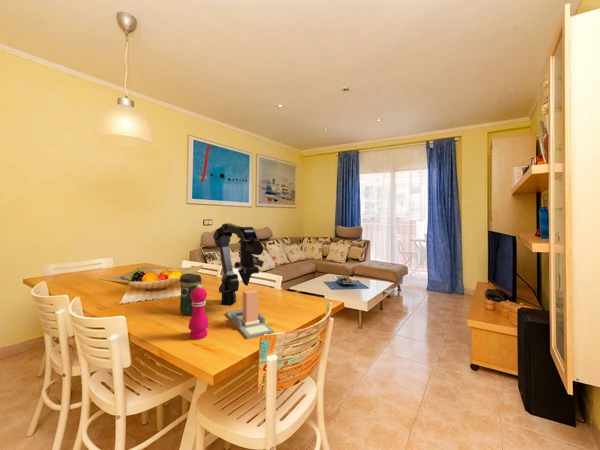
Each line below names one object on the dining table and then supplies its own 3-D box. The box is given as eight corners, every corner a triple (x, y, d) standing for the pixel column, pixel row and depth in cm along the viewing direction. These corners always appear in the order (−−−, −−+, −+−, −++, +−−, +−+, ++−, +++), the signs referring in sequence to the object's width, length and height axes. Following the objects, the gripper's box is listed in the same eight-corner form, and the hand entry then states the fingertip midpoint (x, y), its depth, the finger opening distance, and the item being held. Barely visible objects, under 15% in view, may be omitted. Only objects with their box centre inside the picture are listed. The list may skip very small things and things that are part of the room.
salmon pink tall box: (241, 320, 116) (241, 290, 116) (254, 318, 119) (254, 289, 119) (245, 325, 111) (245, 294, 111) (259, 323, 114) (259, 292, 114)
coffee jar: (204, 312, 130) (204, 273, 130) (190, 317, 124) (190, 276, 123) (191, 308, 135) (191, 271, 135) (176, 313, 128) (176, 274, 128)
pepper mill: (191, 332, 107) (192, 282, 107) (210, 331, 108) (210, 281, 108) (185, 340, 100) (185, 286, 100) (205, 340, 101) (206, 286, 100)
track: (225, 313, 128) (225, 307, 128) (248, 310, 134) (248, 304, 134) (247, 338, 102) (247, 331, 102) (273, 332, 108) (273, 325, 108)
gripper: (269, 254, 126) (269, 287, 127) (255, 249, 143) (254, 279, 143) (246, 255, 121) (246, 290, 121) (234, 251, 137) (234, 281, 137)
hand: (246, 285), depth 131 cm, fingers closed
